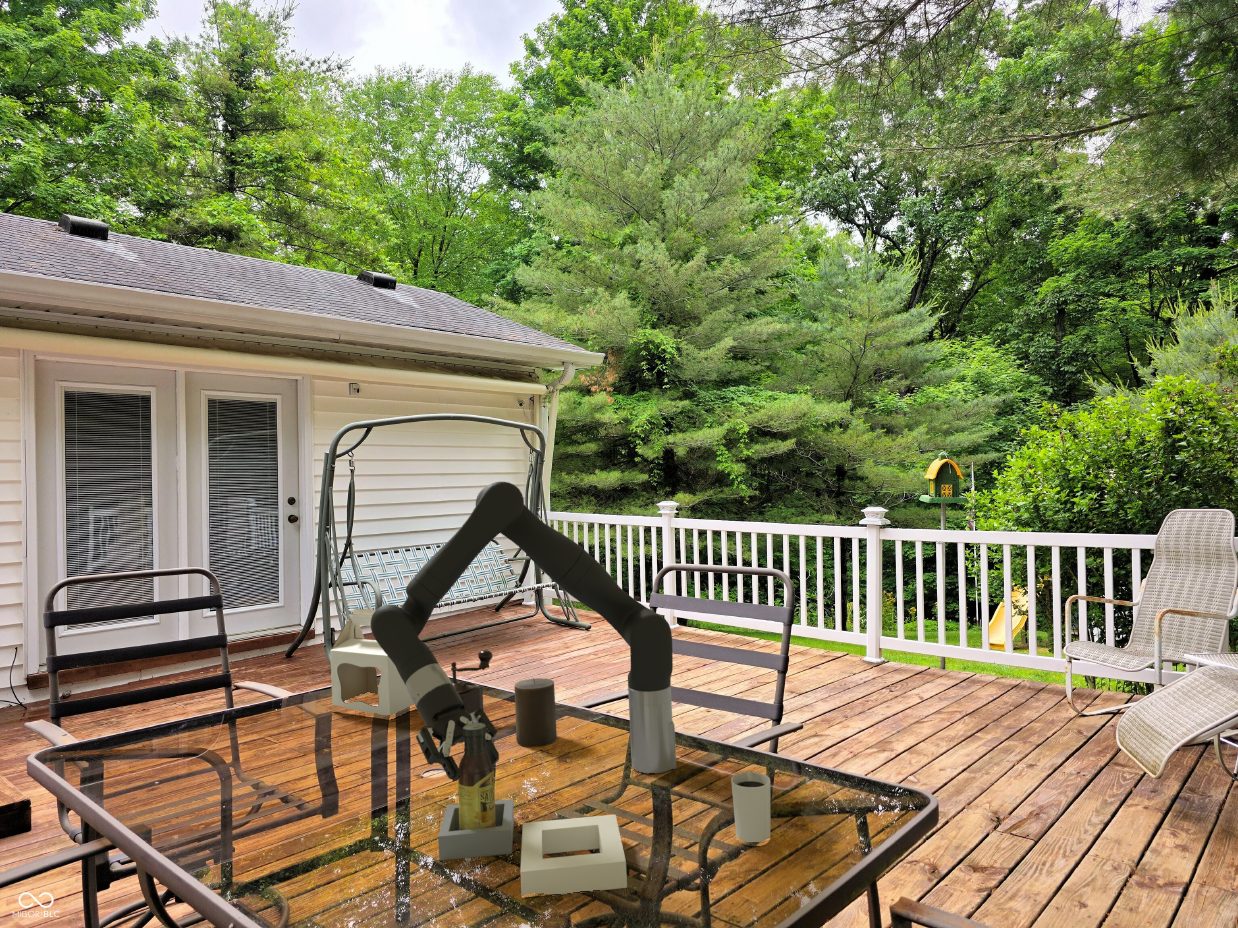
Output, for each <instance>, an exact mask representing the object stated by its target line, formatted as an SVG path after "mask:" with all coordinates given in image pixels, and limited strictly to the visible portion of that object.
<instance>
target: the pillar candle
mask: <svg viewBox="0 0 1238 928" xmlns="http://www.w3.org/2000/svg"><path fill="white" fill-rule="evenodd" d="M513 687H514V707H515V729H516V730H515V739H516V742H517V744H518V745H520V746H523V747H526V748H527V747H528V748H534V747H546V746H548V745H550V744H552V743H555V742H556V741H557V739H558V734H557V717H556V716H557V714H556V695H555V694H556V693H555V692H556V691H555V682H554V680H553V679H551V678H544V677H543V678H538V677H537V678H534V677H532V678H529V679H528V678H527V679H522V680H519V681H518V682H516V683H515V684H514V686H513Z"/></svg>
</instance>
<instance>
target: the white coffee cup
mask: <svg viewBox="0 0 1238 928" xmlns="http://www.w3.org/2000/svg"><path fill="white" fill-rule="evenodd" d="M730 783H731V791H732V803H733V815H734V825H735V836H737V837H738V838H739V839H740V840H743V841H746V842H760V841H763V840H766V839H768V838H769V837H770V838H771V778H770V777H769V776H768V775H766V774H764V773H762V772H757V771H756V772H755V771H754V772H753V771H744V772H738V773H736V774H734V775H733V776H732V777H731V778H730Z"/></svg>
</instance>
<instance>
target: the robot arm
mask: <svg viewBox="0 0 1238 928" xmlns="http://www.w3.org/2000/svg"><path fill="white" fill-rule="evenodd" d="M499 534H501V535H503V536H504V537H505V538H506V539H508V540H509V541H511V542H512V543H514V544H515V545H516V546H517V547H519V548H520V549H521V551H523V552H524V553H525V554H526V555H527V556H528V557H529V558H530V559H531V561H532V562H533V563H534V564H535V565H536V566H538V568H539V569H540V570H541V571H543V572H544V573H545V574H546V575H547V576H548V577H549V578H550V580H552V581H553V582H554V583H555V584H556V585H558V586H559V587H560V588H561V589H562V590H563V591H565V592H566V593H568V594H569V595H570V597H572V598H574V599H575V600H576V601H578V602H579V603H580V604H582V605H584V606H585V607H587V608H589V609H590V610H593V611H594V612H596V613H597V614H598V615H599V616H600V617H602V618H603V619H604V620H605V621H607V623H608V624H609V625H610V626H611V627H612V629H614V630H615V632H617V633H618V634H619V635H620V636H621V638H622V639H623V640H624V641H625V643H626V644H627V645H628V646H629V652H630V654H629V655H630V656H629V657H630V669H629V670H630V671H629V672H628V674H627V692H628V693H627V694H628V711H629V712H628V714H629V716H628V717H629V734H630V739H629V740H630V759H631V768H632V769H633V770H634V769H635V770H634V771H635V772H638V771H639V772H638V773H641V772H643V774H649V773H655V774H661V773H666V772H668V771H670V770H677V754H676V753H677V751H676V749H677V748H676V747H677V746H676V731H675V729H676V727H675V723H674V720H673V704H672V703H673V702H672V701H673V700H672V684H671V683H672V682H671V681H672V680H671V679H672V678H671V677H672V674H673V668H674V665H673V664H674V663H673V661H674V660H673V653H674V652H673V651H674V650H673V634H672V629H671V625H670V624H669V622H668V620H666V618H664V617H663V616H662V615H661V614H658V613H657V612H655V611H654V610H653V609H650V608H648V607H646V605H643V604H642V603H641V602H639V601H638V600H636V599H635V598H634V597H632V596H631V595H630V594H629V593H627V592H625V591H624V590H623V589H622V588H621V587H620V586H619V585H618V583H617V582H616V581H615V580H614V578H613V577H612V576H611V575H610V573H609V572H608V571H607V570H606V569H605V568H604V566H602V565H601V563H600V562H599V561H597V560H596V559H595V558H594V557H593V556H592V555H591V554H590V553H588V552H587V550H585V549H584V548H583V547H581V545H579V544H578V543H576V542H575V541H574V540H572V539H571V538H569V537H568V536H566V535H565V534H563V533H561V532H560V531H558V530H556V529H555V528H552V527H551V526H550V525H548V524H546V523H545V522H544V521H543V520H541V519H540V518H539V517H538V516H536V515H535V513H534V512H533V511H531V509H530V508H528V507H527V506H526V504H525V501H524V496H523V493H522V492H521V489H520V488H519V487H518V486H516V485H515V484H513V483H511V482H509V481H495V482H492V483H490V484H488V485H487V486H485V487H483V488H482V489H481V490H480V491H479V493H478V494H477V497H476V499H475V507H474V508H473V510H472V512H471V513H470V515H469V517H467V519H466V520H465V522H464V523H463V524H462V525H461V527H460V528H459V529H458V530H457V531H456V532H455V534H454V535H452V537H451V538H450V539H448V541H446V543H444V545H443V546H441V547H440V549H438V551H436V552H435V553H434V554H433V556H431V557H430V558H429V560H427V562H426V563H425V564H424V565H423V566H422V567H421V569H420V570H419V571H418V572H417V573H416V574H415V575H414V576H413V578H412V579H411V580H410V581H409V582H408V584H407V585H406V587H405V592H406V595H407V597H406V599H405V601H404V603H403V604H402V605H401V607H400V606H399V605H395V604H383V605H381V606H379V607H378V608H377V609H375V610H376V611H375V612H374V614H373V615H372V618H371V626H370V631H371V633H372V636H373V638H374V640H376V641H377V642H378V644H379V645H380V646H381V648H382V649H383V650H384V652H385V653H386V654H387V656H388V657H389V658H390V659H391V661H392V662H393V663H394V665H395V666H396V668H397V670H398V673H399V674H400V676H401V678H402V680H403V682H404V683H405V685H406V687H407V689H408V692H409V695H410V697H411V699H412V701H413V703H414V704H415V706H416V708H417V709H416V711H418V713H419V715H420V716H421V719H422V720H423V723H424V724H425V726H426V727H425V726H423V727H421V729H420V730H419V732H418V733H417V735H415V739H416V741H417V743H418V745H419V747H420V749H421V752H422V754H423V756H424V758H425V760H426V762H427V764H428V765H430V766H431V765H434V764H438V765H441V767H442V769H443V771H444V772H445V774H446V776H447V777H448V779H450V780H451V781H452V782H457V781H459V778H460V776H461V771H460V770H459V765H458V764H457V762H456V760H455V759H454V758H453V755H451V747H454V746H456V745H457V744H462V743H464V736H463V727H464V726H465V725H468V724H472V722H473V723H483V724H485V725H486V734H485V739H486V740H485V743H486V751H487V753H488V756H489V758H490V761H491V764H492V766H495V765H496V764H497V762H499V760H500V754H499V751H498V749H497V748H496V746H495V744H494V743H493V738H494V737H495V736H496V735H497V733H498V730H497V729H496V727H495V726H494V724H493V723H492V722H491V720H490V719H489V717H488V715H487V714H486V712H485V711H483V710H484V709H483V710H482V708H478V709H477V710H476V711H475V712H473V713H471V714H469V713H468V712H466V710H465V709H464V704H463V701H462V699H461V698H460V696H459V694H458V693H457V691H456V689H455V688H454V686H453V684H452V681H451V679H450V678H449V676H448V674H447V673H446V671H445V670H444V669H443V667H442V666H441V665H440V664H439V662H438V660H437V659H436V656H435V655H434V654H433V652H432V650H431V649H430V647H429V646H428V645H427V644H426V643H424V641H423V640H421V639H420V637H419V636H420V635H421V633H422V631H423V630H424V629H425V627H426V625H427V623H428V621H429V619H430V617H431V616H432V614H433V611H434V609H435V607H436V606H437V605H438V604H439V603H440V602H441V600H442V599H443V598H444V597H445V596H446V594H448V592H450V590H451V589H452V588H453V586H454V585H455V584H456V583H457V581H458V580H459V579H460V578H461V576H462V575H463V574H464V572H466V570H467V569H468V567H469V566H470V565H471V564H472V562H474V560H475V559H476V558H477V557H478V555H479V554H481V552H482V551H483V550H484V549H485V548H486V547H487V546H488V545H489V544H490V543H491V542H492V541H493V540H494V539H495V538H496V537H498V535H499ZM433 738H434V739H437V740H438V747H437V746H436V744H435V741H434V740H433ZM450 755H451V756H450Z"/></svg>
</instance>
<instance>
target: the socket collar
mask: <svg viewBox="0 0 1238 928" xmlns="http://www.w3.org/2000/svg"><path fill="white" fill-rule="evenodd" d="M617 820H618V819H617V816H616V814H606V815H595V816H594V815H593V816H586V817H575V818H564V819H563V818H562V819H554V820H553V819H552V820H551V819H550V820H544V821H543V820H541V821H540V820H539V821H531V822H522V832H521V833H522V835H521V852H520V872H519V873H520V887H521V888H520V892H521V893H520V895H521V897H522V896H524V895H526V894H532V893H544V894H561V895H568V894H567V893H571V894H574V893H573V892H580V891H590V892H594V891H593V890H600V891H607V890H618V889H619V890H620V889H626V888H627V889H628V882H627V881H628V879H627V877H628V876H627V861H626V860H627V859H626V856H625V852H624V847H623V842H622V837H621V834H620V829H619V825H618V821H617ZM598 849H599V852H598V853H588V854H577V855H568V856H558V857H548V858H544V855H550V854H559V853H568V852H577V851H578V852H579V851H588V850H598ZM580 893H581V892H580Z"/></svg>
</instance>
